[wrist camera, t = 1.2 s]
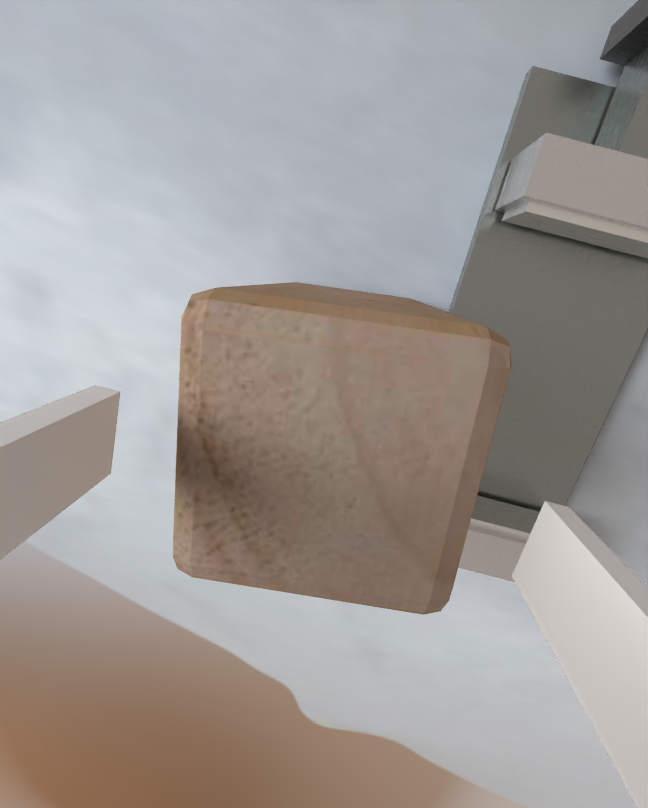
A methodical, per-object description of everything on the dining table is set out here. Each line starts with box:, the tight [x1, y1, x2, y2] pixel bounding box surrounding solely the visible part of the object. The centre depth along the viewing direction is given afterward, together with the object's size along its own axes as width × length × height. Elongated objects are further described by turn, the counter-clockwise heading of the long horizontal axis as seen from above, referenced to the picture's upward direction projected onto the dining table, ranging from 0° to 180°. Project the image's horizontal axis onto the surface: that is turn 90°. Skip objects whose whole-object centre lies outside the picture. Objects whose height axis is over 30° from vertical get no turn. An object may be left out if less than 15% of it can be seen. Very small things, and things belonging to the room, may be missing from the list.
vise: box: [449, 66, 648, 582], centre depth 28 cm, size 31×13×6 cm, turn 166°
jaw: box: [495, 0, 648, 259], centre depth 24 cm, size 11×12×5 cm
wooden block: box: [173, 282, 512, 614], centre depth 23 cm, size 10×10×20 cm
